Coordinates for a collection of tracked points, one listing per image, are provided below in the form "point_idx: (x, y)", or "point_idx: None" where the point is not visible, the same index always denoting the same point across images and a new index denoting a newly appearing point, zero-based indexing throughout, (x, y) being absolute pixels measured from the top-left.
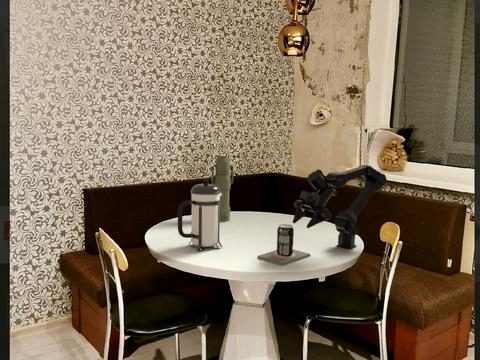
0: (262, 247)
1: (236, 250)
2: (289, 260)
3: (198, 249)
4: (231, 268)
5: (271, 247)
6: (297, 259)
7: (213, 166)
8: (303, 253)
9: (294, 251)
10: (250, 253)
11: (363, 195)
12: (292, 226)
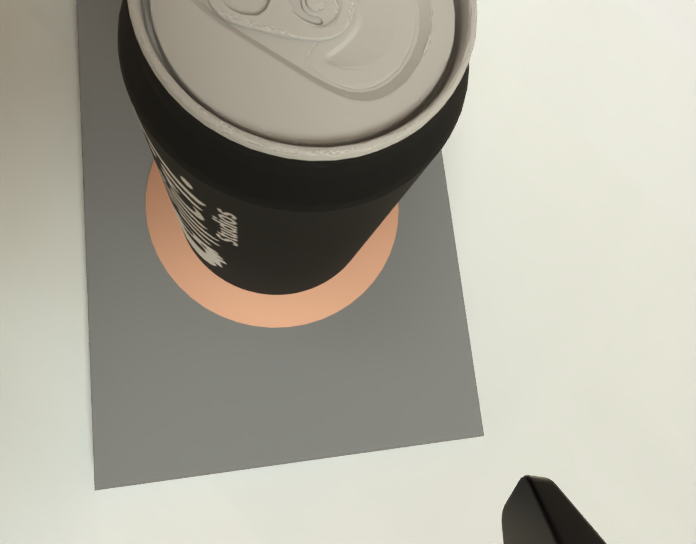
0: (656, 282)
1: (691, 25)
2: (92, 94)
3: None
4: None
5: (612, 360)
6: (88, 225)
7: None
8: (165, 425)
9: (295, 395)
10: (557, 52)
11: None
12: (149, 54)
